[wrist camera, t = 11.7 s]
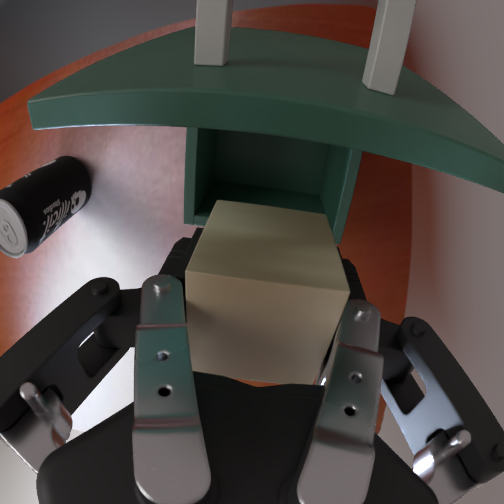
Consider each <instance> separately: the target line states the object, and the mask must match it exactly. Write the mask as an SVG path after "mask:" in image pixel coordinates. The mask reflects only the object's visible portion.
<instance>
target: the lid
mask: <svg viewBox="0 0 504 504" xmlns="http://www.w3.org/2000/svg"><path fill="white" fill-rule="evenodd" d="M416 1H417V0H379V1H378V6H377V12H376V17H375V22H374V28H373V33H372V37H371V42H370V47H369V49H366V48H363V47H359V46H355V45H351V44H347V43H342V42H338V41H333V40H329V39H324V38H318V37H313V36H307V35H301V34H295V33H288V32H281V31H272V30H263V29H252V28H238V27H231V21H232V9H233V0H197V10H196V26H194V27H190V28H187V29H183V30H180V31H177V32H173V33H170V34H167V35H164V36H161V37H158V38H155V39H152V40H150V41H147V42H144V43H141V44H139V45H136V46H134V47H131V48H129V49H126V50H124V51H121V52H119V53H116V54H114V55H112V56H110V57H107V58H105V59H103V60H101V61H98V62H96V63H94V64H92V65H90V66H88V67H86V68H84V69H82V70H80V71H78V72H76V73H74V74H72V75H70V76H68V77H67V78H65V79H63V80H61V81H59V82H58V83H56V84H54V85H52V86H51V87H49V88H47V89H45V90H44V91H42V92H41V93H39V94H37V95H36V96H34V97H32V98H31V99H29V100H28V102H27V105H28V110H29V115H30V119H31V123H32V128H33V129H34V130H40V129H52V128H65V127H83V126H122V125H134V126H174V127H193V128H207V129H220V130H231V131H241V132H250V133H258V134H266V135H274V136H281V137H288V138H295V139H301V140H307V141H313V142H319V143H324V144H330V145H335V146H340V147H345V148H350V149H355V150H359V151H364V152H368V153H373V154H377V155H381V156H386V157H390V158H394V159H398V160H401V161H405V162H409V163H413V164H416V165H420V166H423V167H427V168H430V169H434V170H437V171H440V172H444V173H447V174H450V175H453V176H456V177H459V178H462V179H465V180H468V181H471V182H474V183H477V184H480V185H483V186H485V187H488V188H491V189H494V190H497V191H499V192H502V193H504V144H503V143H502V142H501V141H500V140H498V139H497V138H496V137H495V136H494V135H493V134H492V133H491V132H490V131H489V130H488V129H487V128H485V127H484V126H483V125H482V124H481V123H480V122H479V121H478V120H477V119H475V118H474V117H473V116H472V115H471V114H469V113H468V112H467V111H466V110H465V109H463V108H462V107H461V106H460V105H458V104H457V103H456V102H455V101H453V100H452V99H451V98H449V97H448V96H447V95H445V94H444V93H443V92H441V91H440V90H439V89H437V88H436V87H434V86H433V85H432V84H430V83H429V82H427V81H426V80H424V79H423V78H422V77H420V76H419V75H417V74H416V73H414V72H412V71H411V70H409V69H408V68H406V67H405V66H403V65H402V64H403V60H404V56H405V52H406V47H407V44H408V39H409V34H410V30H411V26H412V21H413V16H414V11H415V6H416Z"/></svg>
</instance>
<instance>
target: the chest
mask: <svg viewBox="0 0 504 504" xmlns="http://www.w3.org/2000/svg"><path fill="white" fill-rule="evenodd" d="M362 152H363V151H359V150H355V149H350V148H345V147H340V146H335V145H330V144H324V143H319V142H313V141H307V140H301V139H295V138H288V137H281V136H274V135H266V134H258V133H250V132H241V131H231V130H220V129H207V128H193V127H187V134H186V154H185V181H184V224H190V225H198V226H205V225H206V223H207V221H208V219H209V217H210V214H211V212H212V210H213V208H214V206H215V204H216V202H217V200H224V201H232V202H240V203H248V204H256V205H264V206H271V207H278V208H285V209H292V210H299V211H306V212H313V213H319V214H325V215H326V216H327V219H328V222H329V225H330V228H331V231H332V234H333V237H334V240H335V243H336V244H340V242H341V238H342V235H343V231H344V227H345V223H346V220H347V216H348V212H349V208H350V204H351V200H352V196H353V192H354V188H355V184H356V179H357V175H358V171H359V166H360V162H361V157H362Z"/></svg>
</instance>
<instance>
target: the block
mask: <svg viewBox="0 0 504 504" xmlns="http://www.w3.org/2000/svg"><path fill="white" fill-rule="evenodd" d="M185 285H186V319H187V331H188V339H189V348H190V356H191V363H192V371H197V372H203V373H209V374H215V375H222V376H226V377H229V378H236V379H244V380H253V381H262V382H271V383H282V384H291V383H294V384H309V385H312V384H313V382H314V380H315V378H316V375H317V373H318V371H319V369H320V366H321V364H322V362H323V360H324V357H325V355H326V353H327V350H328V348H329V346H330V343H331V341H332V338H333V336H334V333H335V331H336V328H337V326H338V323H339V321H340V318H341V316H342V313H343V311H344V308H345V305H346V303H347V300H348V297H349V295H350V289H349V285H348V282H347V279H346V275H345V272H344V269H343V265H342V262H341V259H340V256H339V252H338V249H337V246H336V243H335V240H334V237H333V234H332V231H331V228H330V225H329V222H328V219H327V216H326V215H325V214H319V213H313V212H306V211H299V210H292V209H285V208H278V207H271V206H264V205H256V204H248V203H240V202H232V201H224V200H217V202H216V204H215V206H214V208H213V210H212V212H211V214H210V217H209V219H208V221H207V223H206V225H205V228H204V230H203V232H202V234H201V237H200V239H199V241H198V243H197V246H196V248H195V250H194V252H193V255H192V257H191V259H190V262H189V264H188V266H187V268H186V271H185Z"/></svg>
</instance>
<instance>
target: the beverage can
mask: <svg viewBox="0 0 504 504" xmlns="http://www.w3.org/2000/svg"><path fill="white" fill-rule="evenodd" d="M91 189H92V186H91V179H90V176H89V173H88V171H87V169H86V168H85V167H84V165H83V164H82V163H81V162H80V161H79V160H77V159H75V158H73V157H70V156H62V157H59V158H57V159H55V160H53V161H51V162H49V163H47V164H45V165H44V166H42V167H40V168H38V169H36V170H34V171H32V172H31V173H29V174H27V175H25V176H24V177H22V178H20V179H18V180H17V181H15V182H13V183H12V184H10V185H8V186H7V187H5V188H3V189H2V190H0V250H1V251H2V252H3V253H4V254H6V255H7V256H9V257H13V258H18V257H21V256H22V255H23V254H26V253H30V252H32V251H34V250H35V249H36V248H37V247H38V246H39V245H40V244H41V243H42V242H43V241H45V240H46V239H47V238H48V237H49V236H50V235H51V234H52V233H53V232H55V231H56V230H57V229H58V228H59V227H60V226H61V225H62V224H64V223H65V222H66V221H67V220H68V219H69V218H71V217H72V216H73V215H74V214H75V213H77V212H78V211H79V210H80V209H81V208H83V207H84V206H85V205H86V204H87V202H88V201H89V198H90V196H91Z"/></svg>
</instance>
